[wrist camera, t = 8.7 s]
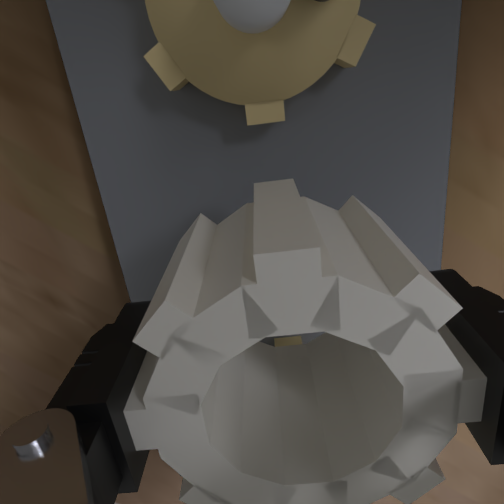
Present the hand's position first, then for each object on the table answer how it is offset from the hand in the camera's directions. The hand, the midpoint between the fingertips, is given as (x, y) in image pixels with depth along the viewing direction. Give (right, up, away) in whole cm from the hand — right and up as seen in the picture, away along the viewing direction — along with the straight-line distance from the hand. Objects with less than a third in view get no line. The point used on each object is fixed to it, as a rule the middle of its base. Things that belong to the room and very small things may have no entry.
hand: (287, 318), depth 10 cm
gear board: (0, +3, +6) cm, 6 cm away
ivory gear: (0, 0, +1) cm, 1 cm away
